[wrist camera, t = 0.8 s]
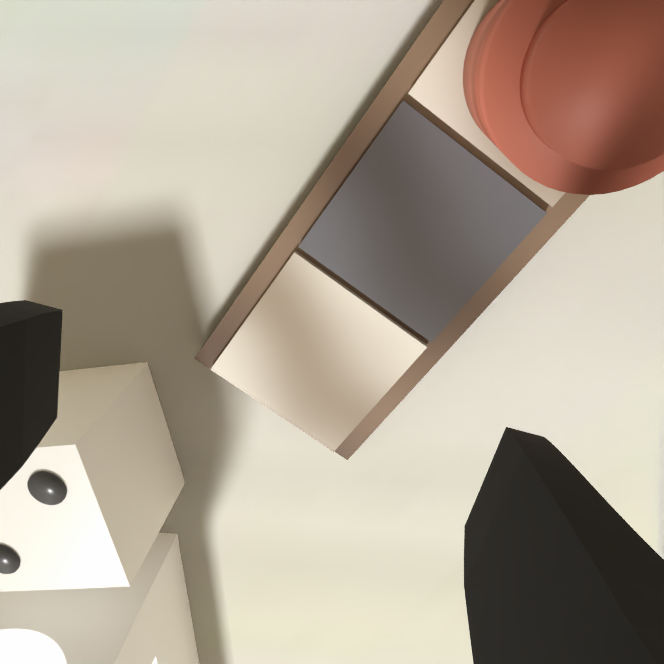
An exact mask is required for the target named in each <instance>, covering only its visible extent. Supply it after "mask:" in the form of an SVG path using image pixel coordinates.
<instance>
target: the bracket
mask: <svg viewBox="0 0 664 664" xmlns="http://www.w3.org/2000/svg"><path fill="white" fill-rule="evenodd" d="M0 664H199V658H198V652H197V647H196V641H195V635H194V629H193V623H192V617H191V611H190V606H189V600H188V594H187V588H186V582H185V576H184V570H183V564H182V559H181V553H180V547H179V541H178V535H177V534H171V533H158V535H157V537H156V539H155V541H154V543H153V544H152V546H151V548H150V550H149V552H148V554H147V556H146V558H145V559H144V561H143V563H142V565H141V567H140V569H139V571H138V573H137V574H136V576H135V578H134V580H133V582H132V584H131V586H130V587H109V588H83V589H58V590H32V591H6V592H0Z"/></svg>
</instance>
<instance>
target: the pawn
mask: <svg viewBox="0 0 664 664" xmlns="http://www.w3.org/2000/svg"><path fill="white" fill-rule="evenodd" d="M463 90H464V96H465V100H466V104H467V107H468V109H469V112H470V114H471V116H472V118H473V120H474V121H475V123H476V125H477V126H478V127H479V128H480V130H481V131H482V132H483V133H484V134H485V135H486V136H487V138H488V139H489V140H490V141H491V142H492V143H493V144H494V145H495V146H496V147H497V148H498V149H499V150H500V151H501V152H502V153H503V154H504V155H505V156H506V157H507V158H508V159H509V160H510V161H511V162H512V163H513V164H514V165H515V166H516V167H517V168H518V169H519V170H520V171H521V172H522V173H524V174H525V175H527V176H528V177H529V178H531V179H532V180H534V181H536V182H538V183H540V184H542V185H544V186H546V187H548V188H552V189H555V190H558V191H561V192H566V193H572V194H583V195H594V194H606V193H611V192H616V191H620V190H623V189H627V188H630V187H633V186H636V185H638V184H640V183H642V182H644V181H647V180H649V179H651V178H652V177H654V176H656V175H657V174H659V173H661V172H662V171H664V0H499V1H498V2H497V3H496V4H495V5H494V6H493V7H492V8H491V9H490V10H489V11H488V12H487V14H486V15H485V16H484V17H483V19H482V20H481V22H480V23H479V25H478V26H477V28H476V30H475V32H474V34H473V36H472V38H471V40H470V43H469V46H468V48H467V51H466V56H465V60H464V67H463Z"/></svg>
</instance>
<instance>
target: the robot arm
mask: <svg viewBox="0 0 664 664" xmlns="http://www.w3.org/2000/svg"><path fill="white" fill-rule="evenodd" d="M61 329H62V310H60V309H56V308H53V307H49V306H45V305H41V304H37V303H34V302H30V301H26V300H24V301H12V302H5V303H0V490H1V489H2V488H3V487H4V486H5V485H6V484H7V483H8V481H9V480H10V479H11V478H12V477H13V476H14V475H15V474H16V473H17V472H18V471H19V470H20V468H21V467H22V466H23V465H24V464H25V462H26V461H27V460H28V458H29V457H30V456H31V454H32V453H33V451H34V450H35V449H36V447H37V446H38V445H39V443H40V442H41V440H42V439H43V438H44V436H45V435H46V433H47V432H48V430H49V429H50V427H51V426H52V424H53V423H54V422H55V420H56V419H57V412H58V391H59V370H60V350H61ZM464 588H465V597H466V606H467V614H468V622H469V630H470V639H471V646H472V654H473V662H474V664H664V560H663V559H662V558H661V557H660V556H659V555H658V554H657V553H656V552H655V551H654V550H653V549H652V548H651V547H650V546H649V545H648V544H647V543H646V542H645V541H644V540H643V539H642V538H641V537H640V536H639V535H638V534H637V533H636V532H635V531H634V530H633V529H632V528H631V527H630V525H629V524H628V523H627V522H626V521H625V520H624V519H623V518H622V517H621V516H620V515H619V514H618V513H617V512H616V511H615V510H614V509H613V508H612V507H611V505H610V504H609V503H608V502H607V501H606V500H605V499H604V498H603V497H602V496H601V495H600V494H599V493H598V491H597V490H596V489H595V488H594V487H593V486H592V485H591V484H590V483H589V482H588V481H587V480H586V479H585V477H584V476H583V475H582V474H581V473H580V472H579V471H578V470H577V469H576V468H575V467H574V466H573V465H572V464H571V462H570V461H569V460H568V459H567V458H566V457H565V456H564V455H563V454H562V453H561V452H560V451H559V450H558V449H557V448H556V447H555V446H554V445H553V444H552V443H551V442H549V441H548V440H547V439H546V438H545V437H542V436H538V435H534V434H530V433H527V432H523V431H519V430H515V429H512V428H508V427H506V429H505V431H504V434H503V436H502V438H501V441H500V443H499V446H498V448H497V450H496V453H495V455H494V458H493V460H492V462H491V465H490V467H489V469H488V472H487V474H486V477H485V479H484V481H483V484H482V486H481V489H480V491H479V493H478V496H477V498H476V501H475V503H474V505H473V508H472V510H471V513H470V515H469V517H468V520H467V522H466V525H465V539H464Z"/></svg>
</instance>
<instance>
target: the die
mask: <svg viewBox="0 0 664 664" xmlns="http://www.w3.org/2000/svg"><path fill="white" fill-rule="evenodd" d="M184 484H185V481H184V478H183V474H182V471H181V468H180V465H179V462H178V459H177V455H176V452H175V449H174V446H173V443H172V439H171V436H170V433H169V430H168V427H167V423H166V420H165V417H164V414H163V411H162V408H161V404H160V401H159V398H158V395H157V392H156V388H155V385H154V382H153V379H152V376H151V372H150V369H149V366H148V363H147V362H142V363H133V364H123V365H114V366H104V367H95V368H86V369H76V370H67V371H59V391H58V412H57V419H56V420H55V422H54V423H53V424H52V426H51V427H50V429H49V430H48V432H47V433H46V435H45V436H44V438H43V439H42V440H41V442H40V443H39V445H38V446H37V447H36V449H35V450H34V451H33V453H32V454H31V456H30V457H29V458H28V460H27V461H26V462H25V464H24V465H23V466H22V467H21V468H20V470H19V471H18V472H17V473H16V474H15V475H14V476H13V477H12V478H11V479H10V480H9V481H8V483H7V484H6V485H5V486H4V487H3V488H2V489H1V490H0V592H6V591H32V590H58V589H83V588H109V587H130V586H131V584H132V582H133V580H134V578H135V576H136V574H137V573H138V571H139V569H140V567H141V565H142V563H143V561H144V559H145V558H146V556H147V554H148V552H149V550H150V548H151V546H152V544H153V543H154V541H155V539H156V537H157V535H158V533H159V531H160V529H161V528H162V526H163V524H164V522H165V520H166V518H167V516H168V514H169V513H170V511H171V509H172V507H173V505H174V503H175V501H176V499H177V498H178V496H179V494H180V492H181V490H182V488H183V486H184Z"/></svg>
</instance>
